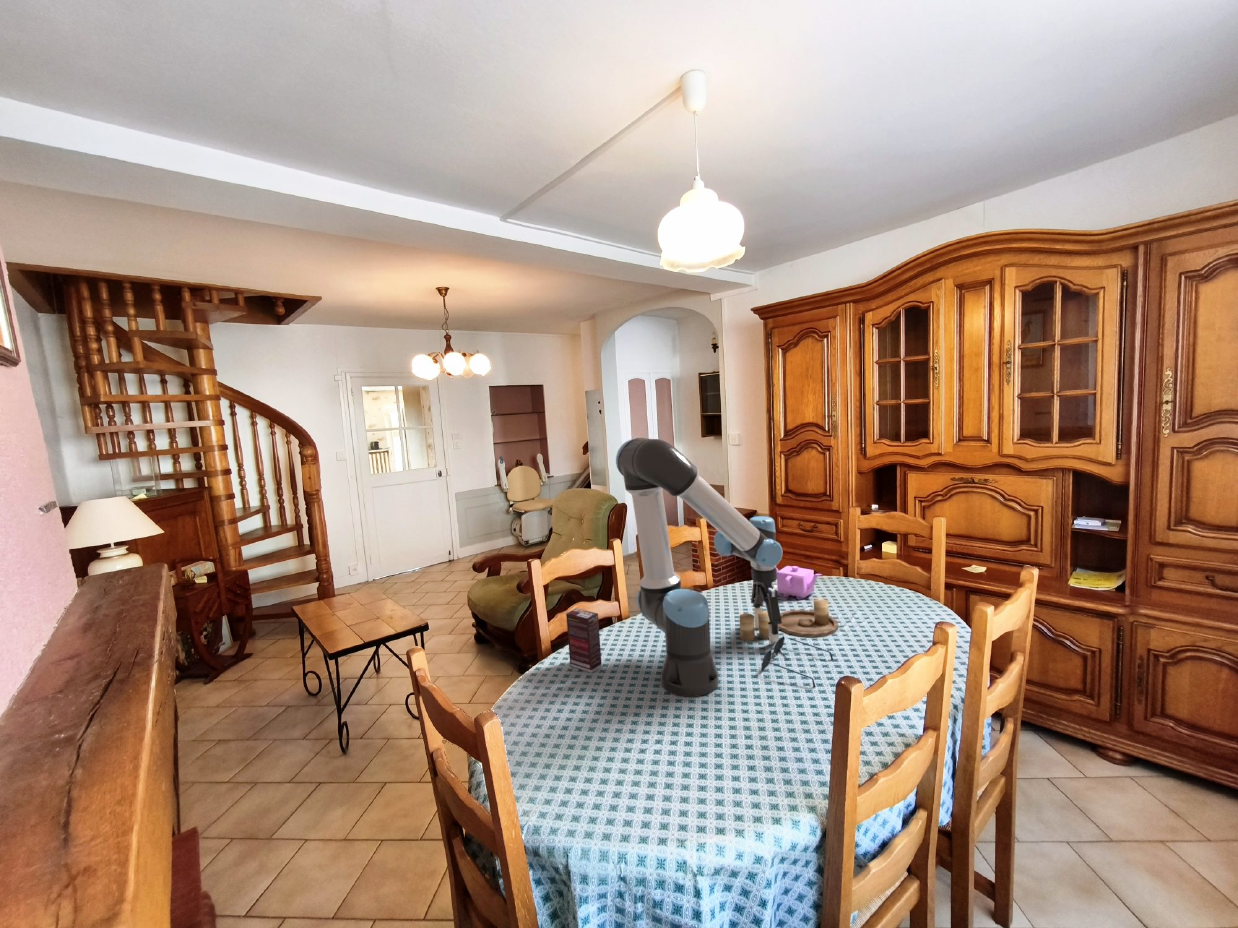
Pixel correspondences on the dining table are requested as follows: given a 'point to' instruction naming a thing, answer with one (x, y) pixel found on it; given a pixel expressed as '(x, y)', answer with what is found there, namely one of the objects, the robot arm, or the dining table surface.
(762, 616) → the bead
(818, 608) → the bead seated
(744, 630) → the bead
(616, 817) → the dining table surface
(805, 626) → the tray
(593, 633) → the supplement box
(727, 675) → the dining table surface
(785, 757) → the dining table surface
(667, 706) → the dining table surface
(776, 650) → the sunglasses
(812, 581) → the teapot
